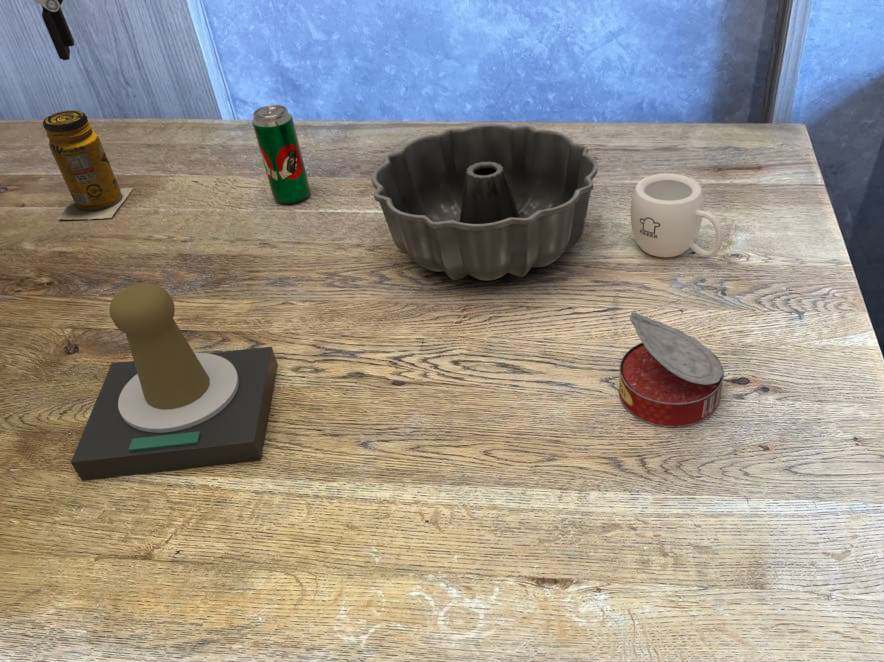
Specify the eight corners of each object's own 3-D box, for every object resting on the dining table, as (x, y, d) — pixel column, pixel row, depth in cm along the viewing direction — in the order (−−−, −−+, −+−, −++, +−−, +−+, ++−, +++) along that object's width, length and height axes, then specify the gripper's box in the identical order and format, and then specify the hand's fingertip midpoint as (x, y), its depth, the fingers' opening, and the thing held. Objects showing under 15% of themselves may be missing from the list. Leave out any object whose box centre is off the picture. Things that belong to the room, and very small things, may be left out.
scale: (81, 480, 74) (67, 457, 72) (120, 381, 84) (109, 358, 82) (261, 460, 75) (252, 437, 73) (277, 364, 85) (270, 341, 83)
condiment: (133, 188, 116) (99, 105, 108) (111, 218, 109) (74, 132, 101) (82, 191, 116) (44, 107, 108) (57, 221, 109) (15, 135, 101)
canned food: (636, 397, 86) (648, 303, 84) (729, 418, 82) (745, 319, 79) (591, 418, 76) (604, 313, 74) (694, 443, 72) (712, 332, 70)
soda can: (316, 189, 114) (296, 104, 106) (302, 206, 110) (280, 120, 102) (282, 187, 114) (260, 102, 106) (267, 204, 111) (243, 118, 103)
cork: (138, 413, 76) (90, 317, 68) (151, 372, 80) (107, 278, 73) (205, 405, 76) (164, 308, 69) (214, 364, 81) (176, 270, 73)
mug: (615, 249, 100) (616, 189, 94) (656, 221, 104) (660, 163, 99) (698, 283, 93) (704, 222, 88) (737, 252, 98) (746, 192, 93)
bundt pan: (398, 195, 112) (386, 124, 105) (590, 188, 111) (591, 116, 104) (370, 308, 92) (353, 230, 85) (603, 300, 92) (605, 221, 85)
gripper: (27, -184, 66) (110, 36, 78) (-221, -162, 62) (-95, 67, 73) (22, -172, 61) (111, 61, 73) (-250, -148, 57) (-109, 97, 68)
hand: (7, 64), depth 73 cm, fingers open, 9 cm apart
